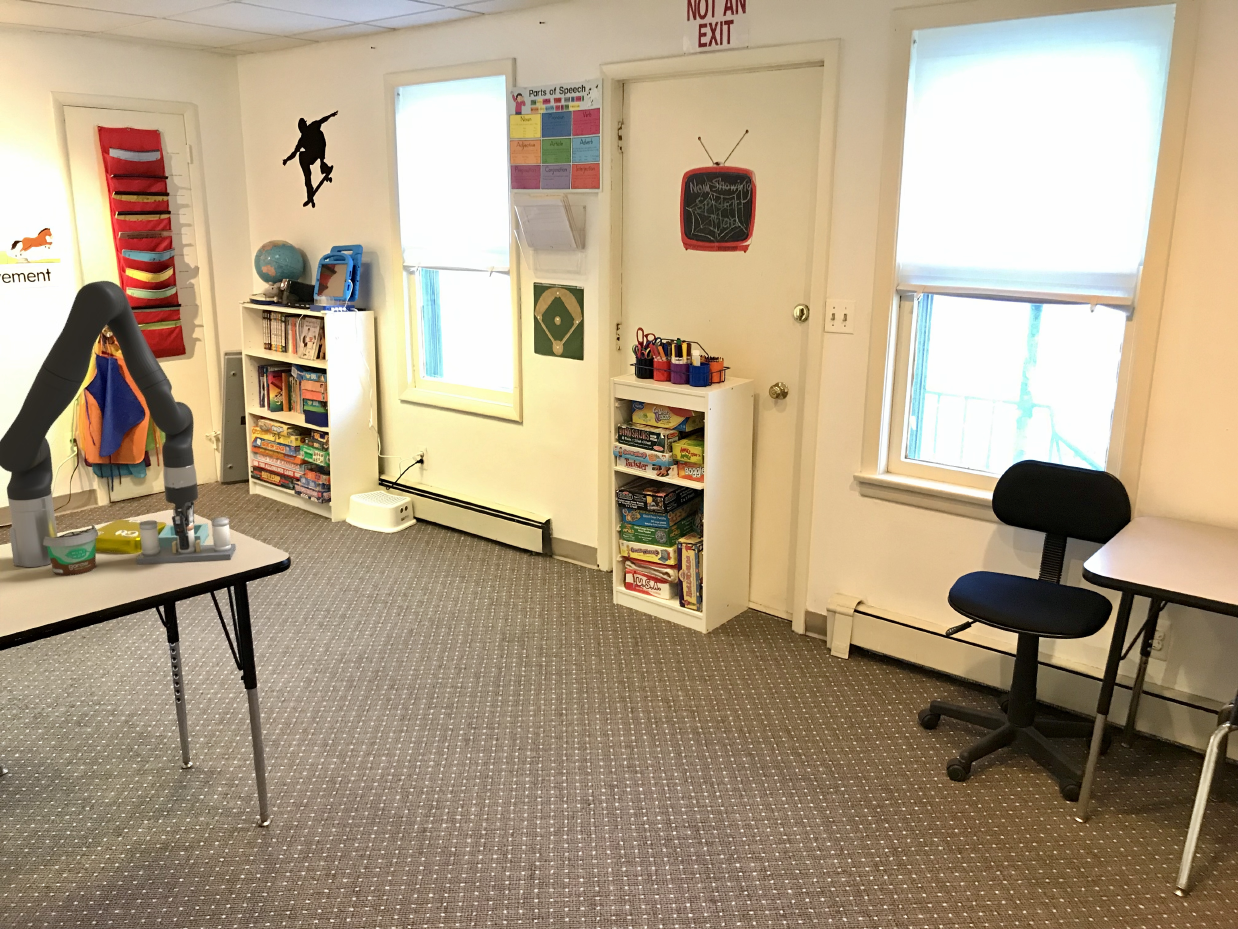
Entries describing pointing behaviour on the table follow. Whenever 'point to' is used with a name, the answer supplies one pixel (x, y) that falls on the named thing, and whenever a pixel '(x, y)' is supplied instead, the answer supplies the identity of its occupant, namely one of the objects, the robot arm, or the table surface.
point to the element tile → (122, 536)
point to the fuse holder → (170, 554)
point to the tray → (169, 536)
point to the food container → (73, 552)
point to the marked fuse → (191, 539)
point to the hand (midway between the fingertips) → (186, 546)
